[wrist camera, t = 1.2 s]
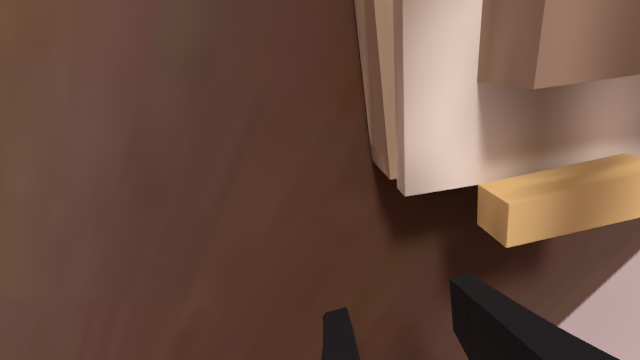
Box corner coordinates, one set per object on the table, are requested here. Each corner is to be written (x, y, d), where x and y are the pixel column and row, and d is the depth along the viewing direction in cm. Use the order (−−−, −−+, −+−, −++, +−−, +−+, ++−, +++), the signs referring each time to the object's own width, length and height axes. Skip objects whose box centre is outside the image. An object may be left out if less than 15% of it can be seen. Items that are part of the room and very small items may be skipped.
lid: (759, -170, 12) (979, -273, 8) (648, 198, 17) (750, 237, 14) (389, -145, 11) (451, -252, 7) (398, 242, 16) (435, 297, 12)
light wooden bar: (624, 152, 15) (676, 167, 13) (617, 192, 15) (664, 211, 13) (478, 184, 14) (509, 204, 12) (477, 224, 15) (506, 247, 13)
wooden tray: (653, -162, 14) (747, -215, 11) (607, 111, 19) (665, 121, 16) (341, -115, 13) (359, -161, 10) (371, 160, 18) (390, 179, 15)
